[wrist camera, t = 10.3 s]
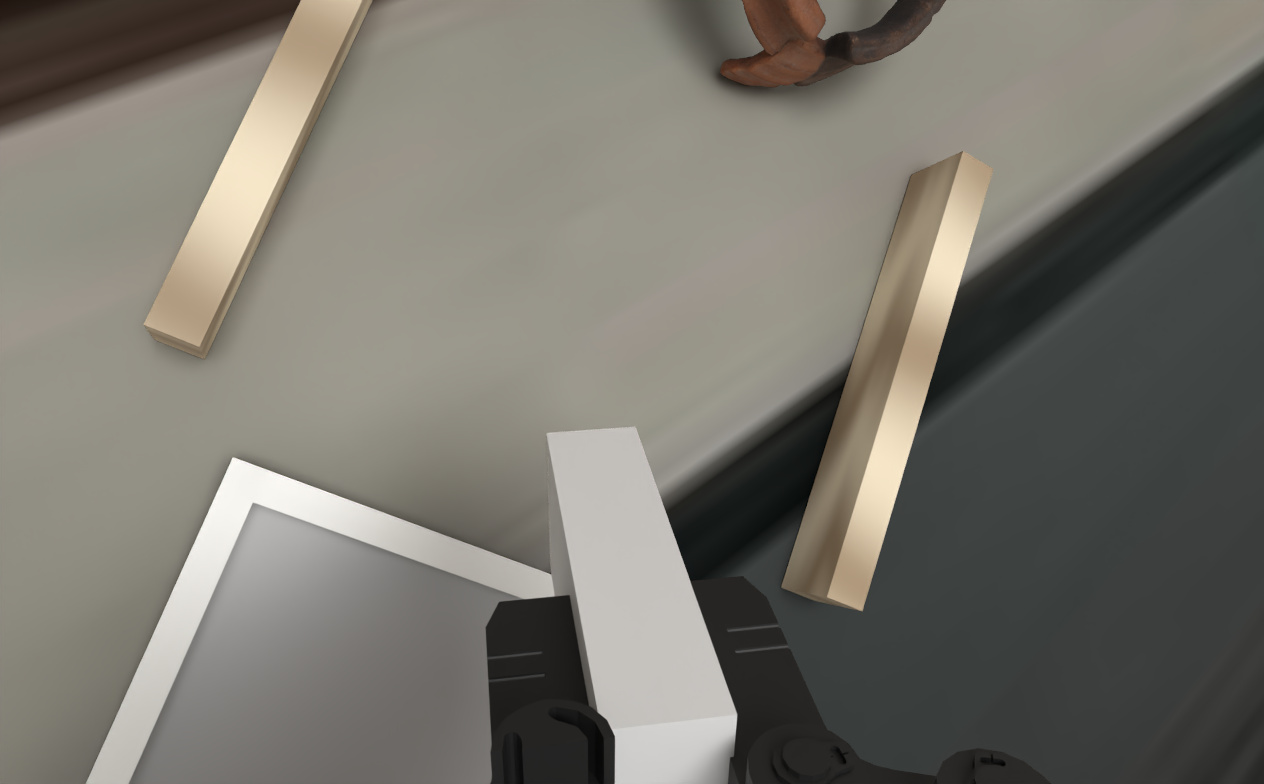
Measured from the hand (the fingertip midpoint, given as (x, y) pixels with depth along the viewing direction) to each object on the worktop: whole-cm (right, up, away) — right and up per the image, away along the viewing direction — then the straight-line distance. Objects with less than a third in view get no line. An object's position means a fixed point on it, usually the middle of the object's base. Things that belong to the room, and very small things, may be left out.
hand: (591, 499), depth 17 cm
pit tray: (-5, -7, +8) cm, 12 cm away
